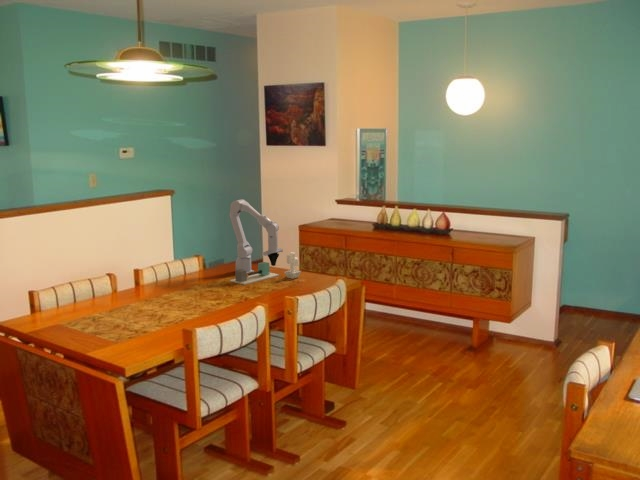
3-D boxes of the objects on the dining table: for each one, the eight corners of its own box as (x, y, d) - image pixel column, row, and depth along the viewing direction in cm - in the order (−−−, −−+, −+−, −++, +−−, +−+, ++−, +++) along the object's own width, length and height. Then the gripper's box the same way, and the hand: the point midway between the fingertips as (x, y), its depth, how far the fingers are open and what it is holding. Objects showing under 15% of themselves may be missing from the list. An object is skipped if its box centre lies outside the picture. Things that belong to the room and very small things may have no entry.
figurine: (302, 276, 376) (302, 251, 373) (293, 280, 368) (292, 254, 365) (292, 275, 380) (292, 250, 377) (283, 278, 372) (282, 253, 369)
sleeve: (258, 273, 376) (257, 263, 375) (264, 272, 380) (264, 261, 379) (263, 275, 373) (263, 264, 372) (269, 273, 377) (269, 263, 376)
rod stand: (230, 281, 365) (229, 269, 364) (265, 272, 386) (265, 261, 385) (244, 284, 357) (244, 273, 356) (279, 275, 378) (279, 264, 377)
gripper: (269, 245, 371) (269, 268, 374) (286, 242, 382) (286, 264, 385) (260, 244, 376) (261, 266, 378) (277, 240, 387) (278, 262, 389)
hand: (273, 265), depth 382 cm, fingers closed
